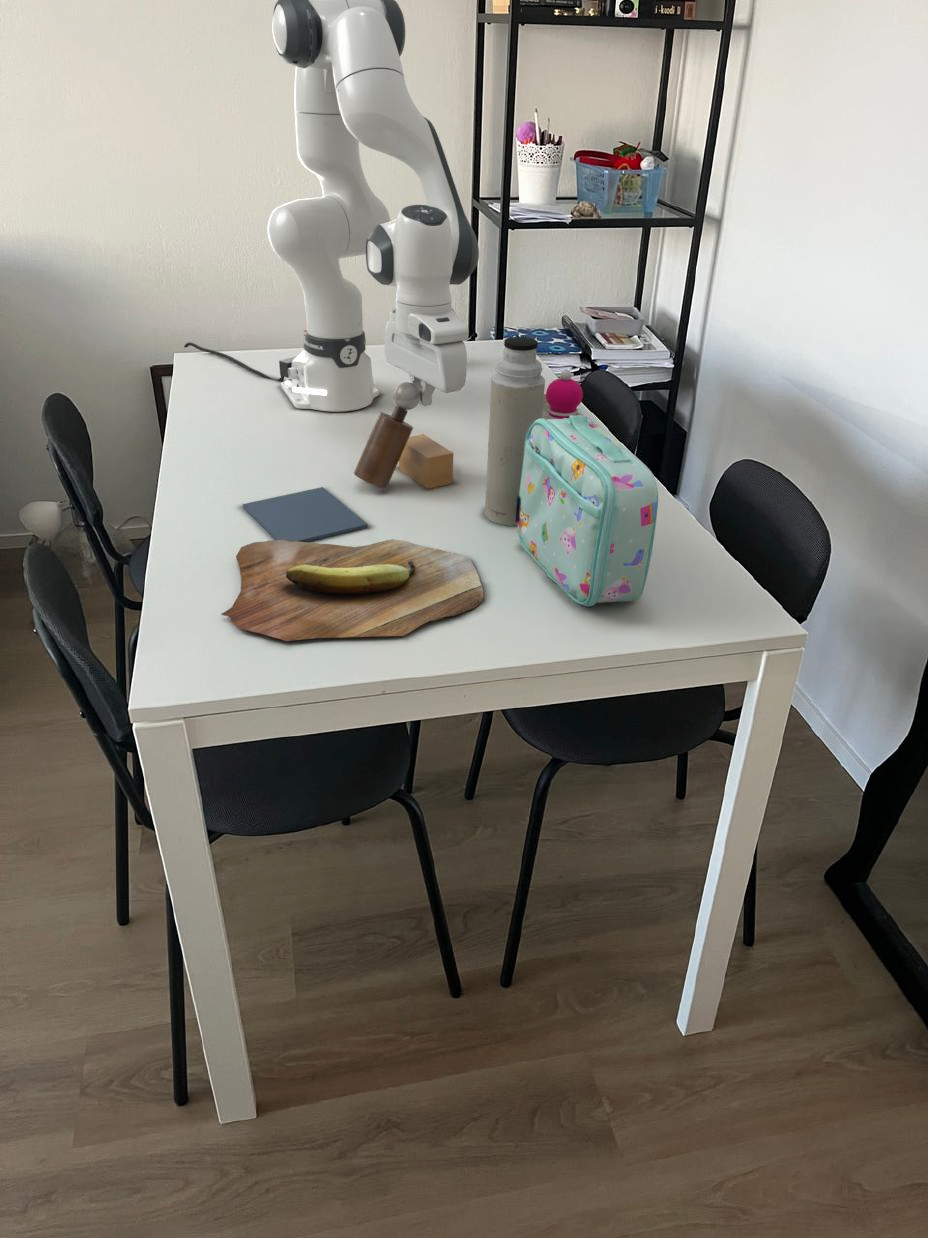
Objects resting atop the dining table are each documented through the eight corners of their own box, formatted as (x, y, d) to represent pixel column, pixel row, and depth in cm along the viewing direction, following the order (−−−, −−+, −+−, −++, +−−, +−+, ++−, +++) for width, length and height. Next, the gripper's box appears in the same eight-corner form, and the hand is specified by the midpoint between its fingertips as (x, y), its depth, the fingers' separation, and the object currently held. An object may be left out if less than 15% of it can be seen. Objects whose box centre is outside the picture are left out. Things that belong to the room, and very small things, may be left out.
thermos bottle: (474, 513, 152) (481, 338, 137) (508, 500, 156) (519, 329, 142) (510, 530, 147) (522, 350, 132) (544, 515, 152) (559, 340, 137)
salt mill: (355, 489, 161) (327, 413, 151) (427, 449, 165) (405, 372, 156) (371, 503, 157) (344, 425, 147) (445, 461, 161) (424, 383, 151)
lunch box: (503, 536, 145) (511, 401, 134) (563, 527, 148) (576, 394, 137) (582, 624, 124) (600, 472, 113) (651, 612, 127) (675, 463, 116)
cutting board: (216, 647, 116) (213, 621, 114) (232, 542, 139) (229, 519, 137) (496, 636, 121) (498, 610, 119) (467, 536, 144) (468, 513, 142)
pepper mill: (575, 495, 159) (586, 378, 148) (532, 490, 160) (541, 374, 150) (579, 478, 165) (590, 365, 154) (538, 474, 166) (547, 361, 156)
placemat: (242, 507, 151) (242, 503, 151) (322, 490, 157) (322, 486, 157) (283, 547, 140) (283, 544, 139) (367, 527, 146) (367, 523, 146)
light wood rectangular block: (398, 468, 166) (398, 438, 163) (423, 463, 169) (423, 433, 166) (427, 489, 159) (428, 458, 156) (452, 483, 162) (453, 452, 159)
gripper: (374, 305, 155) (376, 388, 163) (439, 336, 141) (438, 425, 148) (407, 301, 158) (407, 382, 166) (475, 331, 144) (471, 418, 151)
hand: (422, 403), depth 157 cm, fingers closed
